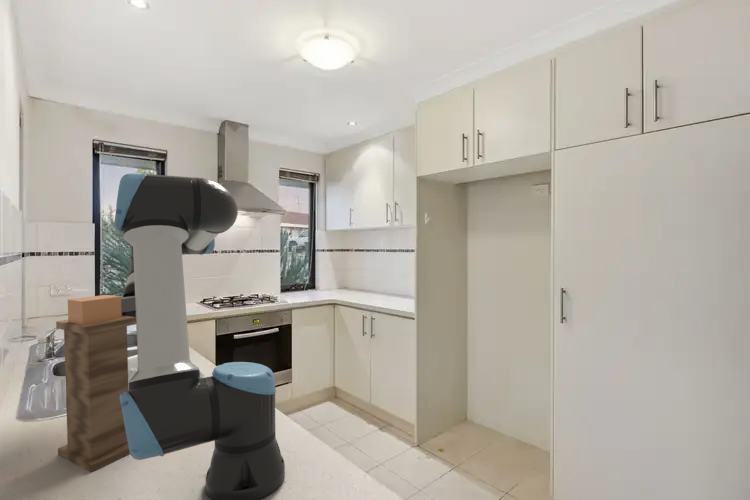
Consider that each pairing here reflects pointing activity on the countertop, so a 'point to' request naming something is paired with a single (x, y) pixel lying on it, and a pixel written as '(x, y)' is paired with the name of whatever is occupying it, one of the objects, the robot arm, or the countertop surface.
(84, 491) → the countertop surface
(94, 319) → the plug
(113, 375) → the wooden pedestal
